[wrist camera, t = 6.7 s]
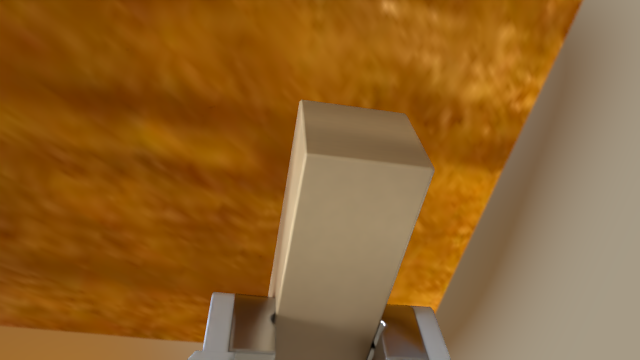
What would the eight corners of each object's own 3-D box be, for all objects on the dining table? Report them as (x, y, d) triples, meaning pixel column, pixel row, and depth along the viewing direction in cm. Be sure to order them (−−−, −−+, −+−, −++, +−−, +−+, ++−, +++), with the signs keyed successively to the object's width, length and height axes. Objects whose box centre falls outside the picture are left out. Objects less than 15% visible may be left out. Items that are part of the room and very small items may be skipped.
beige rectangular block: (300, 98, 10) (304, 153, 8) (406, 112, 10) (436, 169, 8) (254, 379, 15) (250, 455, 13) (325, 382, 16) (332, 456, 14)
